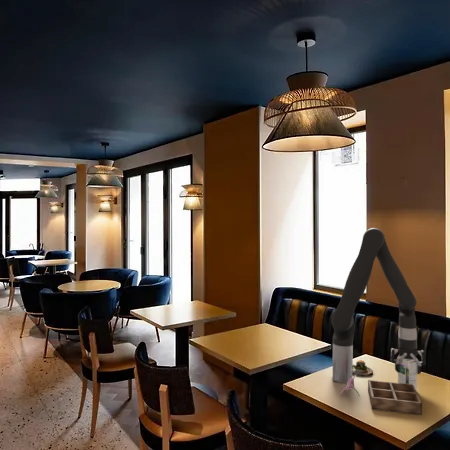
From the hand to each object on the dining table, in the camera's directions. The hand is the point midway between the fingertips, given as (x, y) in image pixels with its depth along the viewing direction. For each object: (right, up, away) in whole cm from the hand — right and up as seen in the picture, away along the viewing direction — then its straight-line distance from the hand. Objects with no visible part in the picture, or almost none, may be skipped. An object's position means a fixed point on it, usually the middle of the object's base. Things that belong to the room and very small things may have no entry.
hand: (407, 372), depth 178 cm
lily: (-28, -8, -5) cm, 29 cm away
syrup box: (0, -8, 0) cm, 8 cm away
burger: (-14, -8, +21) cm, 26 cm away
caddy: (-12, -8, -12) cm, 19 cm away
